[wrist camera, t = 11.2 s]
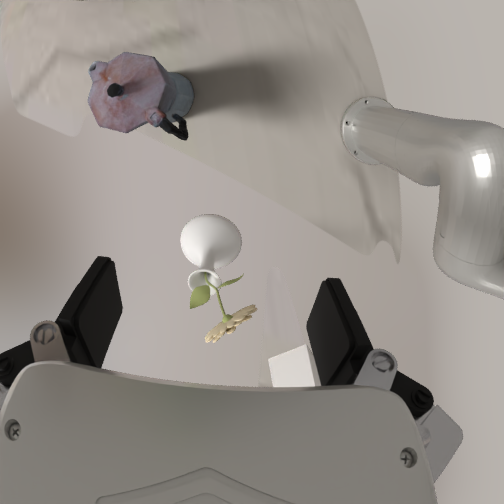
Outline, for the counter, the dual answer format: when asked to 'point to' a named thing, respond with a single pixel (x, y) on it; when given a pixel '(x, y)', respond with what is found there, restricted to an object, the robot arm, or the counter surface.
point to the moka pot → (139, 95)
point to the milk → (294, 368)
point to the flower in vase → (212, 265)
